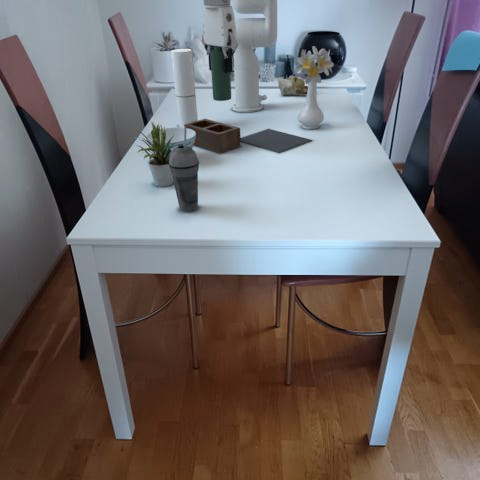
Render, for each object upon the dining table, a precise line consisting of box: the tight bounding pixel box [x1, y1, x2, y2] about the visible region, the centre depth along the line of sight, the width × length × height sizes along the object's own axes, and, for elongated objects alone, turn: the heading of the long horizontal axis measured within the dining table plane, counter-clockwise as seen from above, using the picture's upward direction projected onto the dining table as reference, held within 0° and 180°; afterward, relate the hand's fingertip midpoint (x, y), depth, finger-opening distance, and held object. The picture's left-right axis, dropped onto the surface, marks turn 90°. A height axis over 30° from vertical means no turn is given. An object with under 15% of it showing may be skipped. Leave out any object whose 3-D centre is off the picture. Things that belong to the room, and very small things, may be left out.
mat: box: [240, 128, 313, 154], centre depth 165 cm, size 16×20×1 cm
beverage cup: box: [169, 126, 200, 213], centre depth 118 cm, size 7×7×20 cm
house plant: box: [130, 121, 180, 188], centre depth 134 cm, size 14×14×16 cm
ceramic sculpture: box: [277, 73, 308, 96], centre depth 214 cm, size 11×9×15 cm
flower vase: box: [294, 45, 335, 130], centre depth 169 cm, size 13×18×25 cm
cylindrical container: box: [170, 48, 198, 128], centre depth 176 cm, size 7×7×25 cm
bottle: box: [210, 46, 232, 102], centre depth 148 cm, size 6×6×18 cm
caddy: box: [184, 118, 242, 154], centre depth 163 cm, size 9×17×6 cm, turn 44°
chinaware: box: [145, 127, 196, 156], centre depth 151 cm, size 15×15×8 cm
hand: (220, 70), depth 149 cm, fingers closed on bottle, 5 cm apart
